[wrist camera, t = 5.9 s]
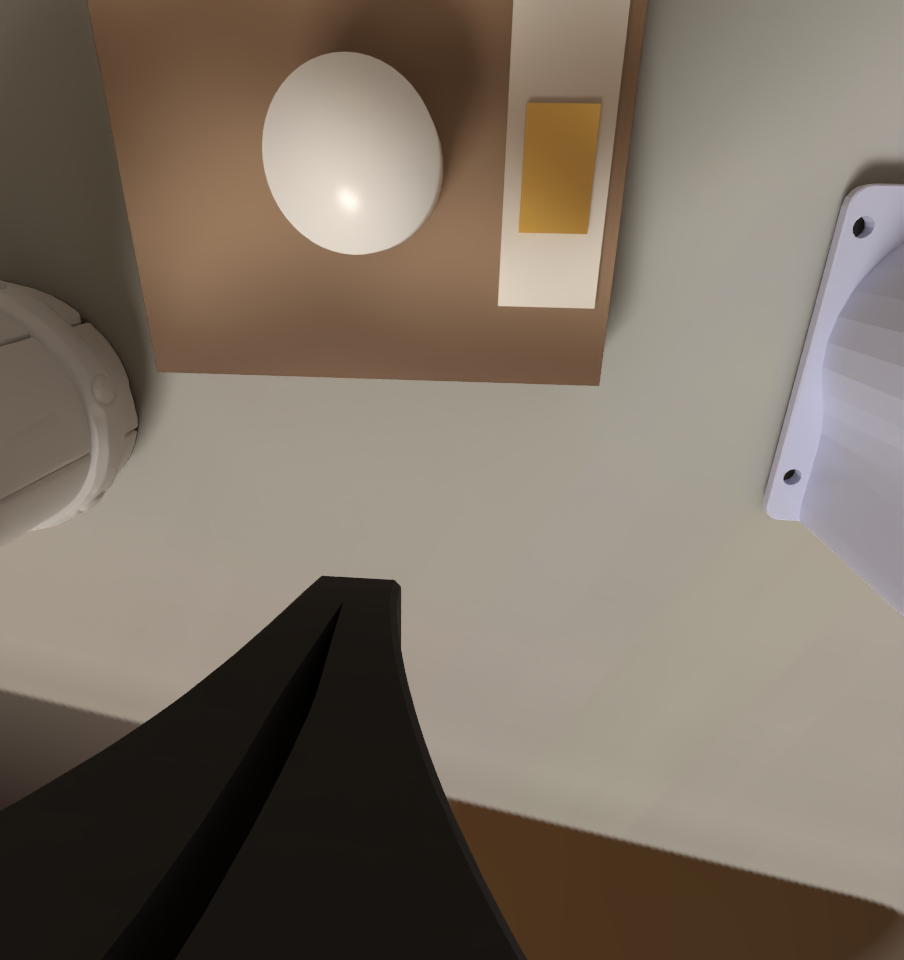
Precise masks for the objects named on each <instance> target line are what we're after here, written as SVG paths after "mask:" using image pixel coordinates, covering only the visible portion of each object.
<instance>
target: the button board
mask: <svg viewBox="0 0 904 960" xmlns="http://www.w3.org/2000/svg"><path fill="white" fill-rule="evenodd" d="M87 3H88V9H89V14H90V19H91V24H92V30H93V35H94V40H95V45H96V51H97V56H98V61H99V67H100V72H101V77H102V82H103V88H104V93H105V98H106V103H107V109H108V114H109V119H110V124H111V130H112V135H113V140H114V146H115V151H116V156H117V161H118V167H119V172H120V177H121V182H122V188H123V193H124V198H125V204H126V209H127V214H128V219H129V225H130V230H131V235H132V240H133V246H134V251H135V256H136V261H137V267H138V272H139V277H140V283H141V288H142V293H143V298H144V304H145V309H146V314H147V319H148V325H149V330H150V335H151V341H152V346H153V351H154V356H155V362H156V367H157V372H178V373H209V374H241V375H273V376H304V377H336V378H367V379H399V380H431V381H462V382H494V383H525V384H557V385H588V386H599V383H600V375H601V367H602V359H603V351H604V343H605V335H606V328H607V320H608V312H609V304H610V296H611V288H612V280H613V272H614V264H615V257H616V249H617V241H618V233H619V225H620V217H621V209H622V201H623V193H624V186H625V178H626V170H627V162H628V154H629V146H630V138H631V130H632V122H633V114H634V107H635V99H636V91H637V83H638V75H639V67H640V59H641V51H642V43H643V36H644V28H645V20H646V12H647V4H648V0H87ZM333 52H355V53H361V54H365V55H369V56H371V57H374V58H376V59H379V60H381V61H383V62H384V63H386V64H388V65H389V66H391V67H393V68H394V69H395V70H396V71H398V72H399V73H400V74H401V75H403V76H404V77H405V79H406V80H407V81H408V82H409V83H410V84H411V85H412V86H413V87H414V89H415V90H416V92H417V93H418V94H419V96H420V97H421V99H422V101H423V102H424V104H425V106H426V108H427V110H428V112H429V114H430V116H431V119H432V121H433V123H434V125H435V128H436V130H437V133H438V136H439V139H440V143H441V148H442V154H443V168H444V169H443V181H442V187H441V192H440V195H439V198H438V201H437V204H436V206H435V208H434V210H433V212H432V214H431V216H430V217H429V219H428V220H427V222H426V223H425V224H424V226H423V227H422V228H421V229H420V230H419V231H418V232H417V233H416V234H415V235H414V236H413V237H411V238H410V239H408V240H407V241H406V242H404V243H402V244H400V245H398V246H396V247H393V248H390V249H387V250H383V251H379V252H375V253H370V254H362V255H351V254H342V253H338V252H334V251H331V250H328V249H326V248H323V247H321V246H319V245H317V244H315V243H314V242H312V241H310V240H309V239H308V238H306V237H305V236H304V235H302V234H301V233H300V232H299V231H298V230H297V229H296V228H295V227H294V226H293V225H292V224H291V223H290V222H289V221H288V219H287V218H286V217H285V216H284V214H283V213H282V211H281V210H280V208H279V207H278V205H277V203H276V201H275V199H274V197H273V195H272V193H271V190H270V187H269V185H268V182H267V178H266V174H265V170H264V164H263V157H262V138H263V129H264V123H265V118H266V115H267V112H268V109H269V106H270V104H271V102H272V100H273V98H274V95H275V94H276V92H277V91H278V89H279V87H280V86H281V84H282V83H283V82H284V81H285V80H286V78H287V77H288V76H289V75H290V74H291V73H292V72H293V71H295V70H296V69H297V68H298V67H299V66H301V65H302V64H304V63H306V62H307V61H309V60H311V59H313V58H316V57H318V56H321V55H324V54H328V53H333Z"/></svg>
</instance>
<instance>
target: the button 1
mask: <svg viewBox="0 0 904 960" xmlns="http://www.w3.org/2000/svg"><path fill="white" fill-rule="evenodd" d="M262 157H263V164H264V170H265V174H266V178H267V182H268V185H269V187H270V190H271V193H272V195H273V197H274V199H275V201H276V203H277V205H278V207H279V208H280V210H281V211H282V213H283V214H284V216H285V217H286V218H287V219H288V221H289V222H290V223H291V224H292V225H293V226H294V227H295V228H296V229H297V230H298V231H299V232H300V233H301V234H302V235H304V236H305V237H306V238H308V239H309V240H310V241H312V242H314V243H315V244H317V245H319V246H321V247H323V248H326V249H328V250H331V251H334V252H338V253H342V254H351V255H362V254H370V253H375V252H379V251H383V250H387V249H390V248H393V247H396V246H398V245H400V244H402V243H404V242H406V241H407V240H408V239H410V238H411V237H413V236H414V235H415V234H416V233H417V232H418V231H419V230H420V229H421V228H422V227H423V226H424V224H425V223H426V222H427V220H428V219H429V217H430V216H431V214H432V212H433V210H434V208H435V206H436V204H437V201H438V198H439V195H440V192H441V187H442V181H443V169H444V168H443V154H442V148H441V143H440V139H439V136H438V133H437V130H436V128H435V125H434V123H433V121H432V119H431V116H430V114H429V112H428V110H427V108H426V106H425V104H424V102H423V101H422V99H421V97H420V96H419V94H418V93H417V92H416V90H415V89H414V87H413V86H412V85H411V84H410V83H409V82H408V81H407V80H406V79H405V77H404V76H403V75H401V74H400V73H399V72H398V71H396V70H395V69H394V68H393V67H391V66H389V65H388V64H386V63H384V62H383V61H381V60H379V59H376V58H374V57H371V56H369V55H365V54H361V53H355V52H333V53H328V54H324V55H321V56H318V57H316V58H313V59H311V60H309V61H307V62H306V63H304V64H302V65H301V66H299V67H298V68H297V69H296V70H295V71H293V72H292V73H291V74H290V75H289V76H288V77H287V78H286V80H285V81H284V82H283V83H282V84H281V86H280V87H279V89H278V91H277V92H276V94H275V95H274V98H273V100H272V102H271V104H270V106H269V109H268V112H267V115H266V118H265V123H264V129H263V138H262Z"/></svg>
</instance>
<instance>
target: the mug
mask: <svg viewBox="0 0 904 960" xmlns="http://www.w3.org/2000/svg"><path fill="white" fill-rule="evenodd" d="M137 426H138V418H137V414H136V411H135V405H134V401H133V397H132V394H131V391H130V387H129V380H128V377H127V374H126V372H125V370H124V367H123V365H122V363H121V361H120V359H119V357H118V355H117V354H116V352H115V351H114V349H113V348H112V346H111V345H110V344H109V342H108V341H107V340H106V339H105V337H104V336H103V335H102V334H101V333H100V332H99V331H98V330H97V329H96V328H95V327H94V326H93V325H92V324H91V323H85V324H81V319H80V315H79V313H78V312H77V311H76V310H75V309H73V308H72V307H71V306H69V305H68V304H66V303H64V302H63V301H61V300H59V299H57V298H55V297H53V296H52V295H50V294H47V293H44V292H41V291H39V290H36V289H33V288H30V287H26V286H22V285H18V284H14V283H8V282H4V281H1V280H0V548H1V547H3V546H4V545H6V544H8V543H9V542H11V541H13V540H14V539H16V538H17V537H19V536H21V535H22V534H24V533H26V532H27V531H32V530H39V529H45V528H49V527H52V526H56V525H58V524H61V523H63V522H65V521H68V520H70V519H72V518H75V517H76V516H78V515H79V514H80V513H82V512H83V511H85V510H87V509H89V508H91V507H93V506H95V505H96V504H97V503H98V502H99V501H100V499H101V498H102V497H103V495H104V493H105V492H106V491H107V490H108V489H109V487H110V486H111V485H112V483H113V481H114V479H115V477H116V475H117V473H118V472H119V471H120V470H121V469H122V468H123V466H124V465H125V463H126V462H127V460H128V458H129V457H130V455H131V452H132V450H133V447H134V444H135V440H136V435H137V431H136V430H134V429H135V428H136V427H137Z"/></svg>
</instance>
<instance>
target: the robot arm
mask: <svg viewBox="0 0 904 960" xmlns="http://www.w3.org/2000/svg"><path fill="white" fill-rule="evenodd" d="M860 217H862V218H863V219H864V221H865V228H864V230H863V232H862V233H861V234H860V235H859V236H857V237H855V235H854V234H853V226H854V224H855V222H856V221H857V220H858V219H859V218H860ZM792 469H795V473H794V475H793V476H792V477H791V478H789V479H786V480H783V477H784V475H785V473H786V472H788V471H789V470H792ZM763 508H764V510H765V512H766V513H767V514H768V515H769V516H771V517H772V518H773V519H778V520H795V521H800V522H801V523H802V524H803V525H805V526H806V527H807V528H808V529H809V530H810V531H811V532H812V533H813V534H814V535H815V536H816V537H818V538H819V539H820V540H821V541H822V542H823V543H824V544H825V545H826V546H827V547H828V548H829V549H831V550H832V551H833V552H834V553H835V554H836V555H837V556H838V557H839V558H840V559H841V560H842V561H844V562H845V563H846V564H847V565H848V566H849V567H850V568H851V569H852V570H853V571H854V572H855V573H857V574H858V575H859V576H860V577H861V578H862V579H863V580H864V581H865V582H866V583H867V584H868V585H869V586H871V587H872V588H873V589H874V590H875V591H876V592H877V593H878V594H879V595H880V596H881V597H882V598H884V599H885V600H886V601H887V602H888V603H889V604H890V605H891V606H892V607H893V608H894V609H895V610H897V611H898V612H899V613H900V614H901V615H902V616H903V617H904V184H877V183H875V184H866V185H861V186H858V187H857V188H855V189H853V190H852V191H851V192H850V193H849V194H848V195H847V196H846V197H845V199H844V201H843V204H842V206H841V210H840V214H839V217H838V221H837V225H836V229H835V232H834V236H833V240H832V244H831V247H830V251H829V255H828V259H827V262H826V266H825V270H824V274H823V277H822V281H821V285H820V289H819V292H818V296H817V300H816V304H815V307H814V311H813V315H812V319H811V322H810V326H809V330H808V334H807V337H806V341H805V345H804V349H803V352H802V356H801V360H800V364H799V367H798V371H797V375H796V379H795V382H794V386H793V390H792V393H791V397H790V401H789V405H788V408H787V412H786V416H785V420H784V423H783V427H782V431H781V435H780V438H779V442H778V446H777V450H776V453H775V457H774V461H773V465H772V468H771V472H770V476H769V480H768V483H767V487H766V491H765V495H764V498H763ZM0 960H527V959H526V957H525V955H524V953H523V951H522V950H521V948H520V946H519V944H518V943H517V941H516V939H515V937H514V935H513V934H512V932H511V930H510V928H509V927H508V925H507V923H506V921H505V919H504V917H503V915H502V913H501V911H500V909H499V907H498V905H497V903H496V901H495V900H494V898H493V896H492V894H491V892H490V890H489V888H488V886H487V884H486V883H485V881H484V879H483V877H482V875H481V873H480V870H479V868H478V866H477V864H476V862H475V860H474V857H473V855H472V853H471V851H470V849H469V847H468V845H467V842H466V840H465V838H464V836H463V834H462V832H461V829H460V827H459V825H458V823H457V821H456V819H455V817H454V814H453V812H452V810H451V808H450V806H449V803H448V801H447V798H446V796H445V793H444V791H443V788H442V786H441V783H440V781H439V778H438V776H437V773H436V771H435V768H434V765H433V763H432V760H431V757H430V754H429V752H428V749H427V746H426V743H425V740H424V737H423V734H422V731H421V728H420V725H419V722H418V718H417V715H416V712H415V708H414V705H413V701H412V697H411V694H410V690H409V686H408V682H407V678H406V673H405V668H404V663H403V658H402V652H401V586H400V585H399V584H398V583H397V582H396V581H395V580H385V579H367V578H350V577H332V576H321V577H320V578H319V579H318V580H317V581H315V582H314V583H313V584H312V585H311V586H310V587H309V588H307V589H306V590H305V591H304V592H303V593H302V594H301V595H300V596H299V597H298V598H297V599H296V600H295V601H294V602H292V603H291V604H290V605H289V606H288V607H287V608H286V609H285V610H284V611H283V612H282V613H281V614H279V615H278V616H277V617H276V618H275V619H274V620H273V621H272V622H271V623H270V624H269V625H267V626H266V627H265V628H264V629H263V630H262V631H261V632H259V633H258V634H257V635H256V636H255V637H254V638H253V639H252V640H250V641H249V642H248V643H247V644H246V645H245V646H244V647H242V648H241V649H240V650H239V651H238V652H237V653H236V654H234V655H233V656H232V657H231V658H230V659H228V660H227V661H226V662H225V663H223V664H222V665H221V666H220V667H218V668H217V669H216V670H215V671H213V672H212V673H211V674H210V675H208V676H207V677H206V678H205V679H203V680H202V681H201V682H200V683H198V684H197V685H196V686H195V687H193V688H192V689H191V690H190V691H188V692H187V693H186V694H184V695H183V696H182V697H180V698H179V699H178V700H176V701H175V702H174V703H172V704H171V705H169V706H168V707H167V708H165V709H164V710H162V711H161V712H160V713H158V714H157V715H155V716H154V717H153V718H151V719H150V720H148V721H147V722H145V723H144V724H142V725H141V726H139V727H138V728H136V729H135V730H133V731H132V732H130V733H129V734H127V735H126V736H124V737H123V738H121V739H120V740H118V741H117V742H115V743H114V744H112V745H111V746H109V747H108V748H106V749H104V750H103V751H101V752H100V753H98V754H96V755H95V756H93V757H91V758H90V759H88V760H86V761H85V762H83V763H81V764H80V765H78V766H77V767H75V768H73V769H71V770H70V771H68V772H66V773H64V774H63V775H61V776H60V777H58V778H56V779H55V780H53V781H51V782H50V783H48V784H46V785H44V786H43V787H41V788H39V789H38V790H36V791H34V792H33V793H31V794H29V795H28V796H26V797H24V798H23V799H21V800H19V801H17V802H16V803H14V804H12V805H10V806H8V807H7V808H5V809H3V810H1V811H0Z"/></svg>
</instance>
